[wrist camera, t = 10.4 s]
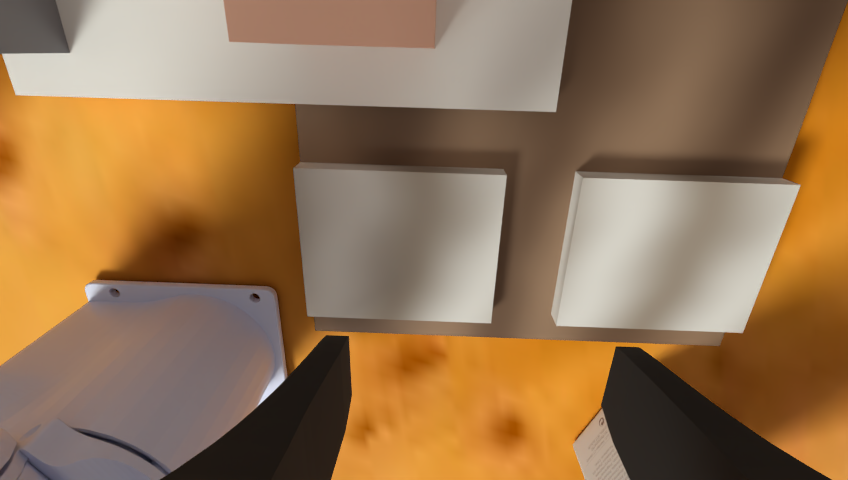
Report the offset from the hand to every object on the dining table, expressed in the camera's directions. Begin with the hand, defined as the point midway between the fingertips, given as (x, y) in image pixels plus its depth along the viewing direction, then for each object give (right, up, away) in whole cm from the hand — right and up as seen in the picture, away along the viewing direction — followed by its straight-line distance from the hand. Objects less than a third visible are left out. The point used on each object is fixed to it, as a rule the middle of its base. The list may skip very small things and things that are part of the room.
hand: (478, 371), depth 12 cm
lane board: (+3, +9, +6) cm, 11 cm away
